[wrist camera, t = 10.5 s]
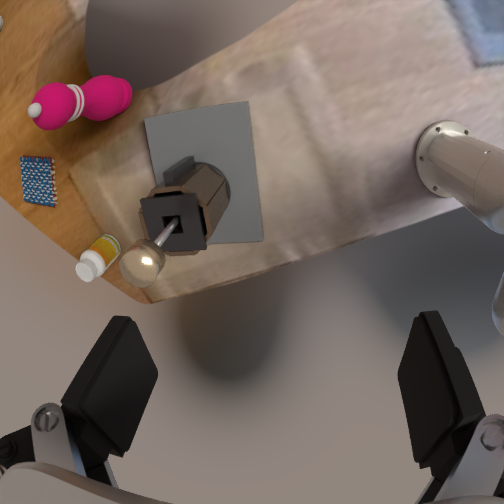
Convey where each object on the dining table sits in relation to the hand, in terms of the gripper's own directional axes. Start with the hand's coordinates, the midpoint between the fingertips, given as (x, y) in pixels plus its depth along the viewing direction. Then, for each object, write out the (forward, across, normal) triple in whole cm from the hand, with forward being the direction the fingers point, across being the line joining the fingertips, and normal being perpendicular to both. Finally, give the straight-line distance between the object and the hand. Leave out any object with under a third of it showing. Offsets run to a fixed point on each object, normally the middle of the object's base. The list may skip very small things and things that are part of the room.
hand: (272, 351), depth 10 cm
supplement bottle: (+38, +35, +15) cm, 54 cm away
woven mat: (+39, +49, -1) cm, 63 cm away
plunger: (+35, +14, +6) cm, 38 cm away
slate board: (+38, +13, +4) cm, 41 cm away
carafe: (+37, +14, +6) cm, 40 cm away
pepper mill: (+38, +26, -12) cm, 48 cm away
